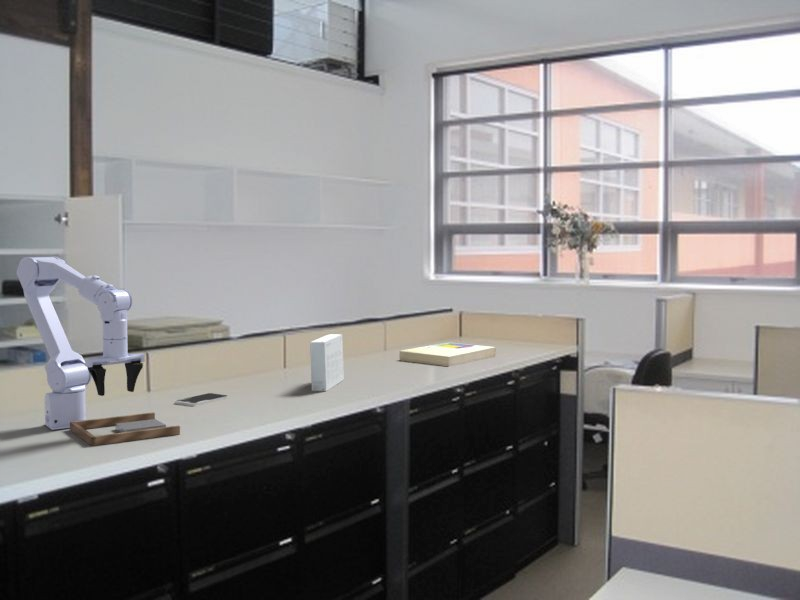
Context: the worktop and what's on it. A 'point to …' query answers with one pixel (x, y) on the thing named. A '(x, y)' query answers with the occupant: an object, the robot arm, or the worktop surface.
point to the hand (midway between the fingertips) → (116, 393)
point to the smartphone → (201, 399)
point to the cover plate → (139, 425)
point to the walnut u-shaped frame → (92, 440)
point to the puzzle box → (447, 354)
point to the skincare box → (326, 362)
